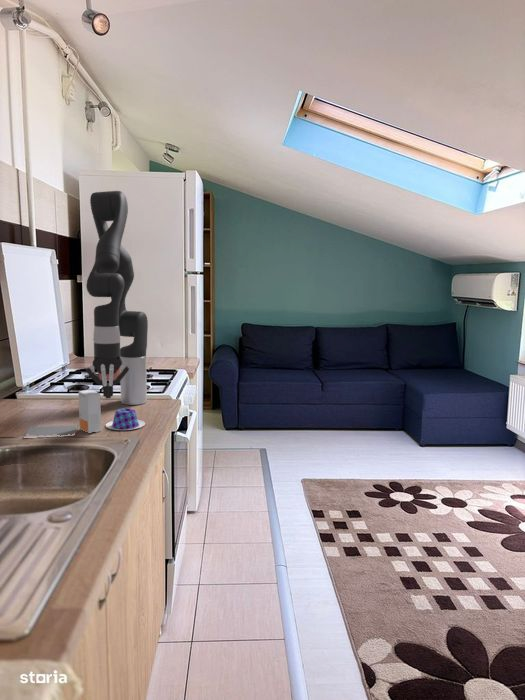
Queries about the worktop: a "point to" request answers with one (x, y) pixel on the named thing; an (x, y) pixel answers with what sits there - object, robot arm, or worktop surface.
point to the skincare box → (89, 411)
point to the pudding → (125, 420)
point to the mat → (52, 430)
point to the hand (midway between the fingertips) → (108, 397)
